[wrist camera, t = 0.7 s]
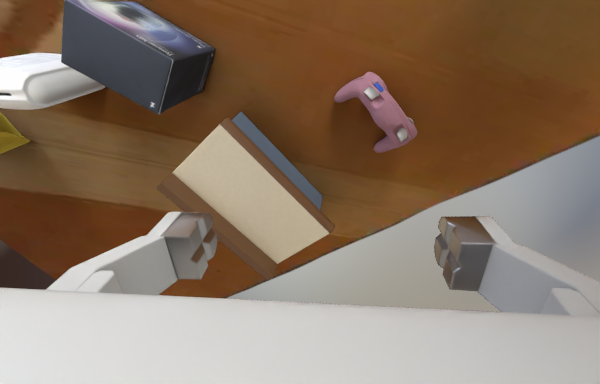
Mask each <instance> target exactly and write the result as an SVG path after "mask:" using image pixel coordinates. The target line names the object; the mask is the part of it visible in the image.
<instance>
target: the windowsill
mask: <svg viewBox="0 0 600 384" xmlns="http://www.w3.org/2000/svg"><path fill="white" fill-rule="evenodd" d="M157 189H158V190H159V191H160V192H161V193H163V194H164V195H165V196H166V197H167V198H169V199H170V200H171V201H172V202H173V203H175V204H176V205H177V206H178V207H179V208H181V209H182V210H183V211H184V212H197V213H210V214H211V215H212V219H213V225H212V227H211V229H212V230H213V231H214V232H215V233H216V237H217V239H218V240H219V241H220V242H222V243H223V244H224V245H225V246H226V247H228V248H229V249H230V250H231V251H232V252H234V253H235V254H236V255H237V256H238V257H240V258H241V259H242V260H243V261H244V262H246V263H247V264H248V265H249V266H250V267H252V268H253V269H254V270H255V271H256V272H258V273H259V274H260V275H261V276H263V277H264V278H265V279H266V280H267V281H268V280H270V279H271V278H273V277H274V274H275V270H276V267H277V264H278V263H280V262H281V261H283V260H285V259H286V258H288V257H290V256H292V255H293V254H295V253H297V252H298V251H300V250H302V249H304V248H305V247H307V246H309V245H310V244H312V243H314V242H316V241H317V240H319V239H321V238H322V237H324V236H326V235H328V234H329V233H331V232H332V231H333V230H334V228H335V225H334V224H333V223H332V222H331V221H330V220H329V219H328V218H327V217H326V216H325V215H324V214H323V213H322V212H321V204H322V197H323V196H322V195H321V194H320V193H319V192H318V191H317V190H316V189H315V188H314V187H313V186H312V185H311V184H310V183H309V181H308V180H307V179H306V178H305V177H304V176H303V175H302V174H301V173H300V172H299V171H298V170H297V169H296V168H295V167H294V166H293V165H292V164H291V163H290V162H289V161H288V160H287V159H286V158H285V156H284V155H283V154H282V153H281V152H280V151H279V150H278V149H277V148H276V147H275V146H274V145H273V144H272V143H271V142H270V141H269V140H268V139H267V138H266V137H265V136H264V135H263V134H262V132H261V131H260V130H259V129H258V128H257V127H256V126H255V125H254V124H253V123H252V122H251V121H250V120H249V119H248V118H247V117H246V116H245V115H244V114H243V113H242V112H240V113H239V114H238V115H237V116H236V117H235V118H234V119H232V120H231V119H230V118H229V117H227V118H226V119H225V120H224V121H222V122H221V123H220V125H219V126H218V127H217V128H216V129H215V130H214V131H213V132H212V133H211V134H210V135H209V136H208V137H207V138H206V139H205V140H204V141H203V142H202V143H201V144H200V145H199V146H198V147H197V148H196V149H195V150H194V151H193V152H192V153H191V154H190V155H189V156H188V157H187V158H186V159H185V160H184V161H183V162H182V163H181V164H180V165H179V166H178V167H177V168H176V169H175V170H174V171H173V172H172V173H171V174H170V175H169V176H168V177H167V178H166V179H165V180H164V181H163V182H162V183H161V184H160V185H159V186H158V187H157Z"/></svg>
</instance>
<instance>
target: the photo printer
mask: <svg viewBox="0 0 600 384" xmlns="http://www.w3.org/2000/svg"><path fill="white" fill-rule="evenodd" d="M103 88H105V86H104V85H102V84H100V83H98V82H97V81H95V80H93V79H91V78H89V77H87V76H85V75H84V74H82V73H80V72H78V71H76V70H74V69H72V68H71V67H69V66H67V65H65V64H63V63H62V62H61V54H52V53H32V54H25V55H19V56H12V57H6V58H0V108H4V109H19V110H33V109H42V108H46V107H50V106H53V105H56V104H59V103H62V102H65V101H68V100H71V99H74V98H77V97H80V96H83V95H86V94H89V93H92V92H95V91H98V90H101V89H103Z"/></svg>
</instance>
